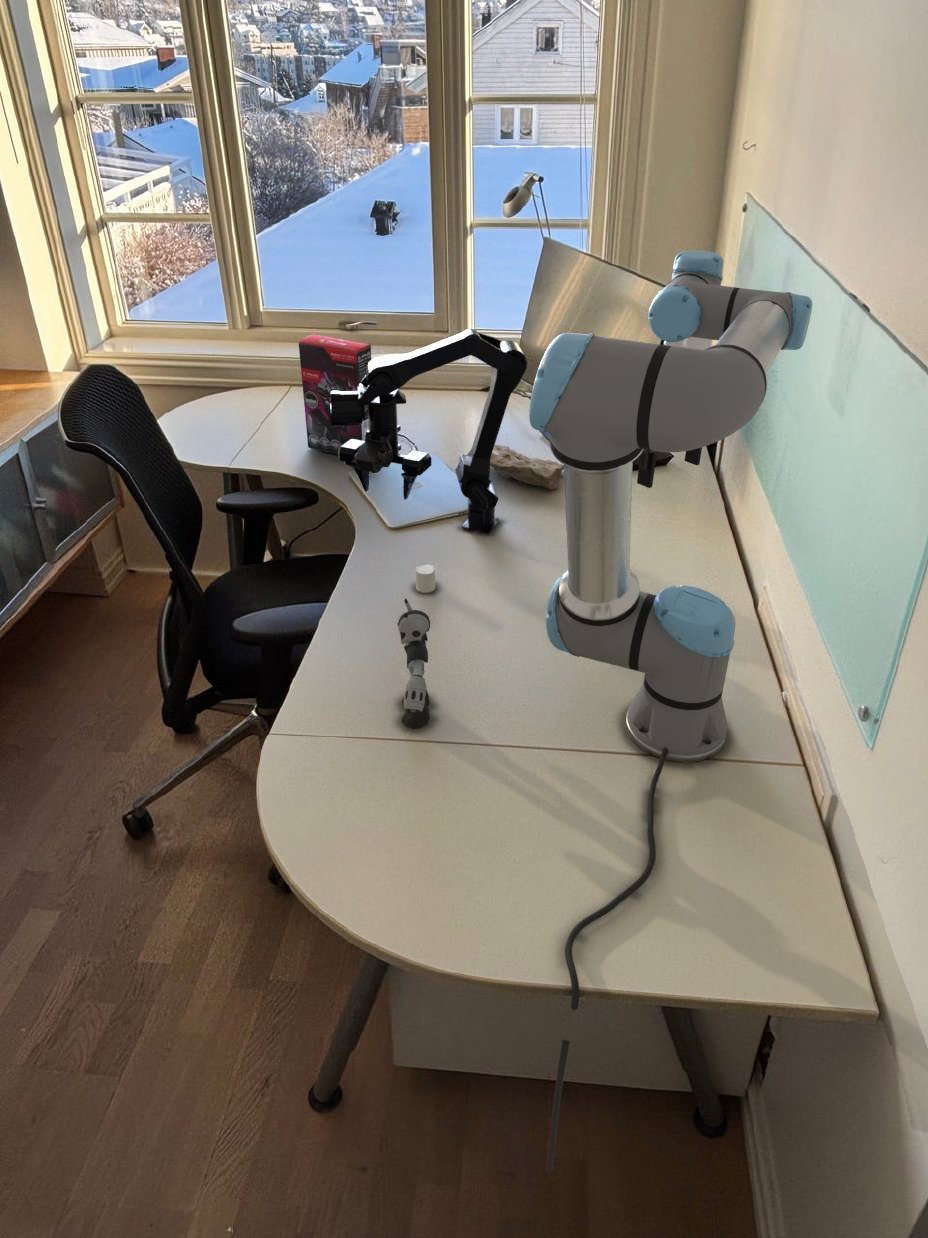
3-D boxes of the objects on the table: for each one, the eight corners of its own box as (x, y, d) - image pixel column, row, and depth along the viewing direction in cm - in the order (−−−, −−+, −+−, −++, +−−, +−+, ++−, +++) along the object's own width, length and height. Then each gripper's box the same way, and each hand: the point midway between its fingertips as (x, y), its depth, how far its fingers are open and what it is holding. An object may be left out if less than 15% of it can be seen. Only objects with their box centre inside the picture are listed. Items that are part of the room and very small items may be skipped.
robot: (432, 752, 138) (431, 644, 127) (400, 753, 138) (395, 645, 127) (430, 673, 154) (428, 571, 143) (401, 674, 154) (397, 571, 143)
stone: (462, 471, 213) (468, 446, 211) (478, 460, 226) (484, 436, 224) (548, 498, 210) (555, 473, 207) (560, 485, 223) (567, 461, 221)
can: (437, 584, 178) (437, 565, 176) (431, 594, 175) (431, 575, 173) (419, 581, 179) (419, 563, 177) (413, 591, 176) (413, 572, 174)
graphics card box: (305, 448, 231) (295, 340, 216) (321, 439, 236) (312, 332, 221) (363, 462, 225) (356, 351, 209) (378, 452, 230) (373, 343, 215)
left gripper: (321, 430, 180) (327, 502, 189) (407, 446, 174) (409, 519, 183) (349, 411, 189) (353, 480, 197) (432, 425, 183) (433, 496, 191)
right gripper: (711, 332, 158) (693, 447, 170) (618, 364, 144) (606, 487, 156) (749, 342, 154) (727, 460, 166) (657, 376, 140) (641, 502, 152)
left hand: (386, 494), depth 192 cm, fingers open, 9 cm apart
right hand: (668, 473), depth 161 cm, fingers open, 13 cm apart
